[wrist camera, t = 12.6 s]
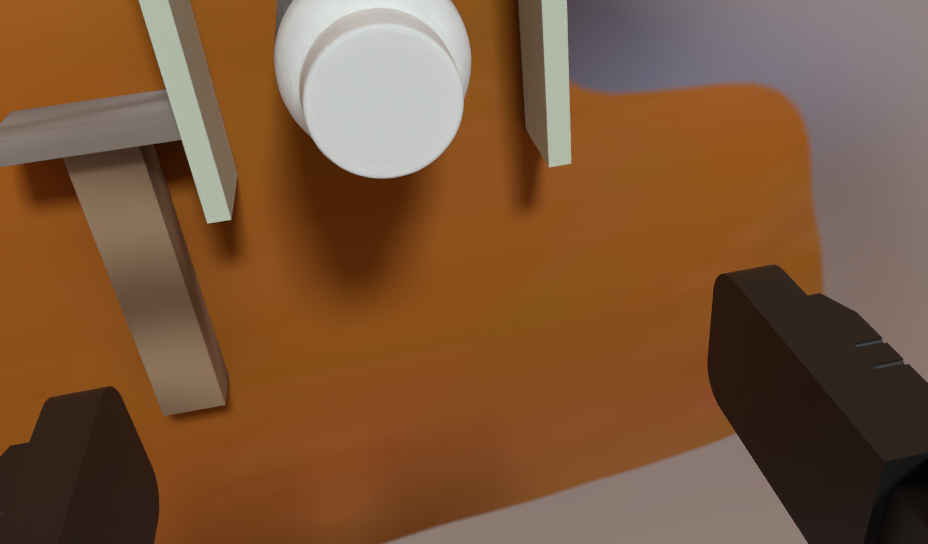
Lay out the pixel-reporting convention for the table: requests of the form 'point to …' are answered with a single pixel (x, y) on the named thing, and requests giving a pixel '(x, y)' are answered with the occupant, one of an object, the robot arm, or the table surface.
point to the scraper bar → (133, 231)
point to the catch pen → (205, 128)
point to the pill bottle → (374, 79)
